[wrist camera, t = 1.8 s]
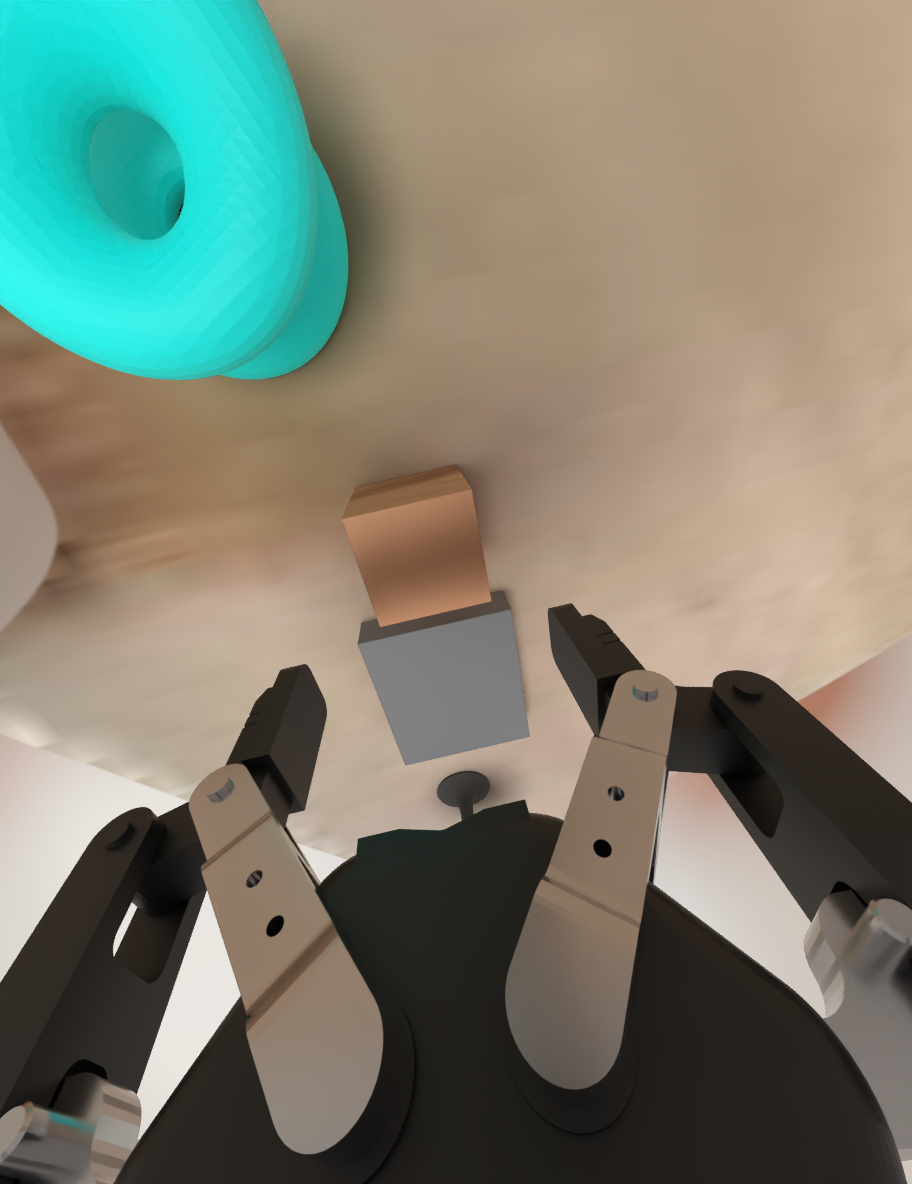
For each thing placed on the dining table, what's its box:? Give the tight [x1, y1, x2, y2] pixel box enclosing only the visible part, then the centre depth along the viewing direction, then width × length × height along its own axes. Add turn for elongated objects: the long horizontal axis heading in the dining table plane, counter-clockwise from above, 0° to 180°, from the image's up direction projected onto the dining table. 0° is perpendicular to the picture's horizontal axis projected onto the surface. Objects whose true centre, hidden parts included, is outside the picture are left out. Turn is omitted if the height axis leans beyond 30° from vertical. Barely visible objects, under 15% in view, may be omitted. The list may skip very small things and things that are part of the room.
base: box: [358, 591, 530, 765], centre depth 29 cm, size 12×10×3 cm
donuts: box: [0, 0, 348, 380], centre depth 13 cm, size 10×10×10 cm
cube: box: [342, 465, 491, 627], centre depth 22 cm, size 6×6×6 cm
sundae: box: [437, 772, 490, 820], centre depth 30 cm, size 7×7×15 cm
